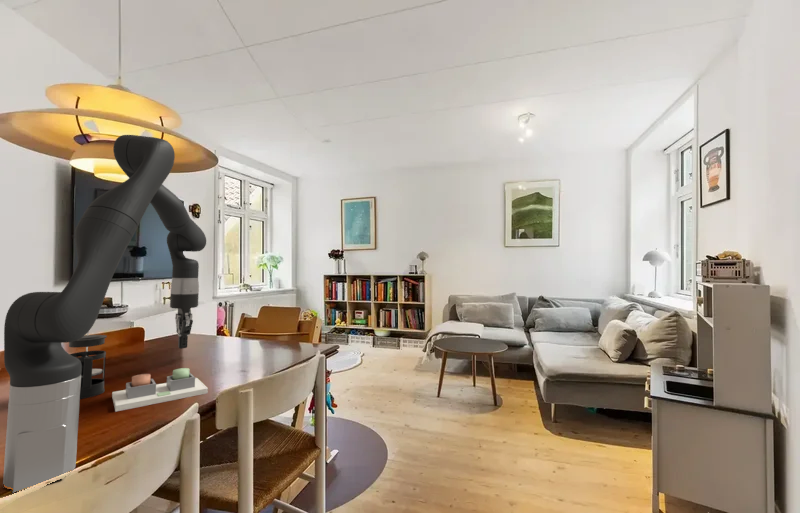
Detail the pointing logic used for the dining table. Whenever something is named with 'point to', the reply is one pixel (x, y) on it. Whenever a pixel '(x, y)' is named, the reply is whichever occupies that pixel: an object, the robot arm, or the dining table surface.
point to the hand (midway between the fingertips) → (182, 347)
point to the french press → (90, 365)
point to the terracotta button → (141, 380)
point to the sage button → (180, 373)
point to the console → (157, 392)
